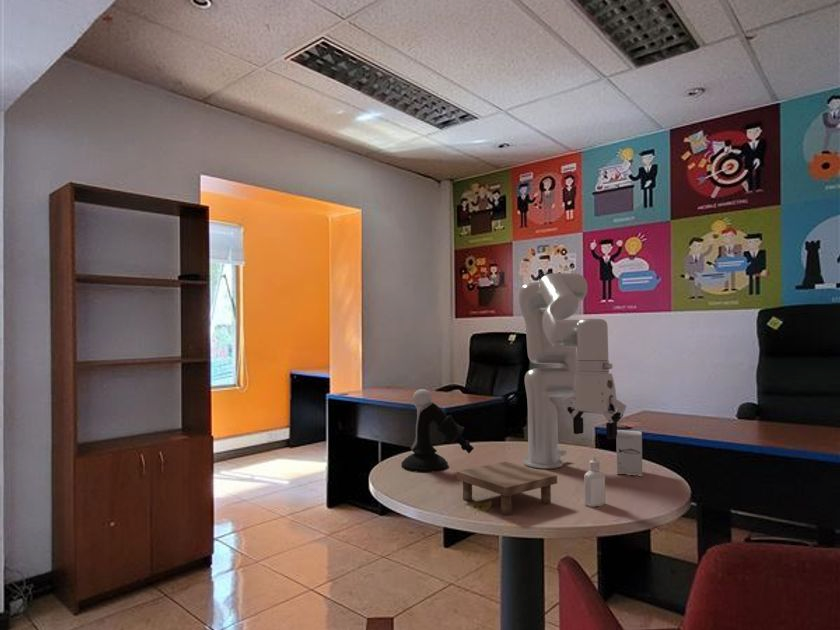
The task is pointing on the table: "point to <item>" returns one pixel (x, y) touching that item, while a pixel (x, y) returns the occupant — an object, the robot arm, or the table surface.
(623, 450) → the supplement box
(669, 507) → the table surface
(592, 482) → the eye dropper bottle
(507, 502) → the walnut stool
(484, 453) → the table surface
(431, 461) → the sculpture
